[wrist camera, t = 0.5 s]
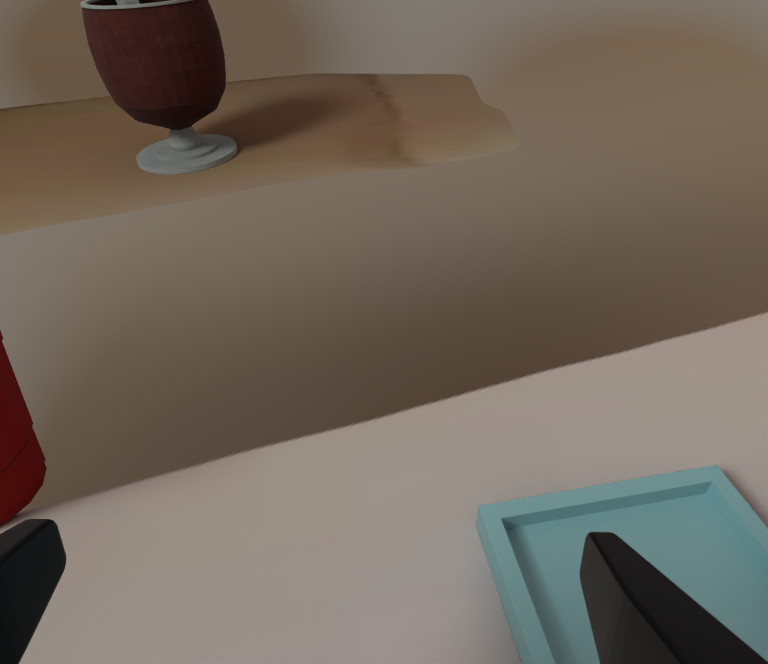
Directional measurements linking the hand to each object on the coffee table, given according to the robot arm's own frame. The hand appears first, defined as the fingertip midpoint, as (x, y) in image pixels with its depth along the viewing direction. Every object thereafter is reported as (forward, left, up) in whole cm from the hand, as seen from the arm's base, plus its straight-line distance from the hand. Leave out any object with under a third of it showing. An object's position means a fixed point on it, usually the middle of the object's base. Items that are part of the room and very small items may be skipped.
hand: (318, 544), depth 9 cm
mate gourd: (+65, +15, -15) cm, 69 cm away
